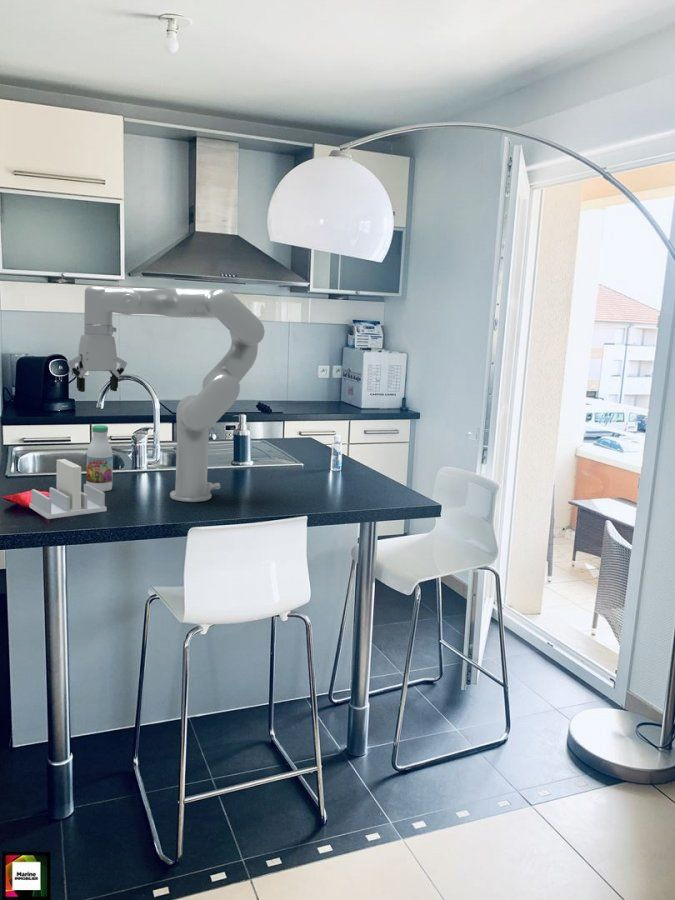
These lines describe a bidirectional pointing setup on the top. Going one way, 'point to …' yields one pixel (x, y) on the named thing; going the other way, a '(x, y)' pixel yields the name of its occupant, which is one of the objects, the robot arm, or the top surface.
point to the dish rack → (67, 503)
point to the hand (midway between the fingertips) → (97, 391)
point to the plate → (69, 482)
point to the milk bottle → (99, 460)
